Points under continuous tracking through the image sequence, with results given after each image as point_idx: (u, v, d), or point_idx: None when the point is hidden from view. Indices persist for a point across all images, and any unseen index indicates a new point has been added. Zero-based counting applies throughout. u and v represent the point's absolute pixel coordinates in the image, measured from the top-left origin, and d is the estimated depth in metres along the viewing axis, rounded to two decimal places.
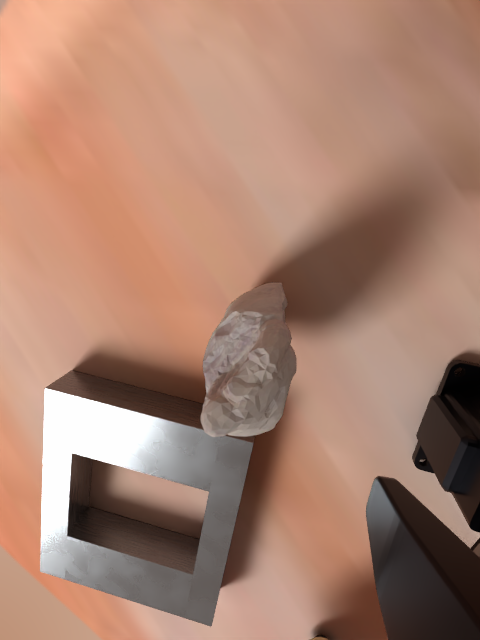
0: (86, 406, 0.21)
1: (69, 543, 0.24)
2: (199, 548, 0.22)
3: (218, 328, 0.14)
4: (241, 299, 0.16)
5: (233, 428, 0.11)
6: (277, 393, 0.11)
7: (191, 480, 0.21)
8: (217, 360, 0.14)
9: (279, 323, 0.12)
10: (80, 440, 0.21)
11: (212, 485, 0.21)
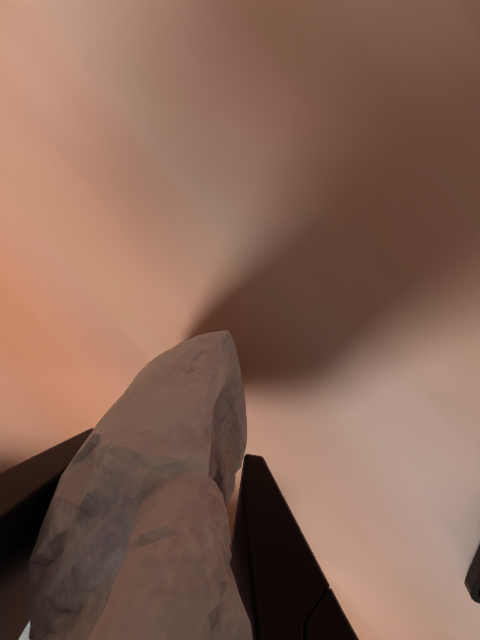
0: None
1: None
2: None
3: (71, 467, 0.06)
4: (139, 379, 0.07)
5: None
6: None
7: None
8: (54, 569, 0.05)
9: (186, 519, 0.04)
10: None
11: None
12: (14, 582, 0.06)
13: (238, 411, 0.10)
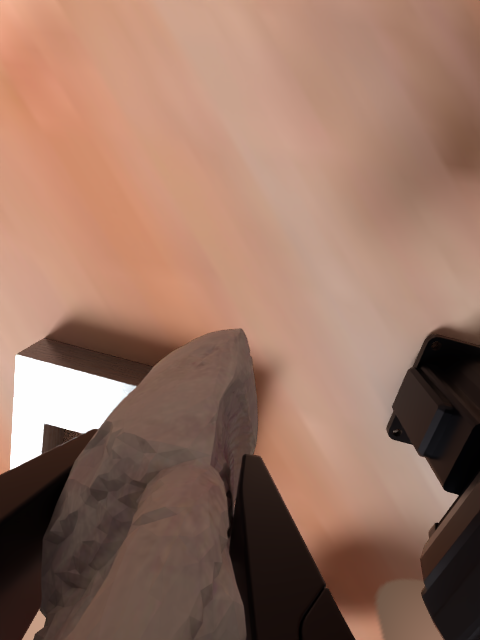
0: (61, 374, 0.20)
1: None
2: None
3: (84, 453, 0.06)
4: (153, 372, 0.08)
5: None
6: None
7: None
8: (65, 547, 0.06)
9: (185, 502, 0.04)
10: (54, 410, 0.20)
11: None
12: (17, 583, 0.06)
13: (249, 409, 0.10)
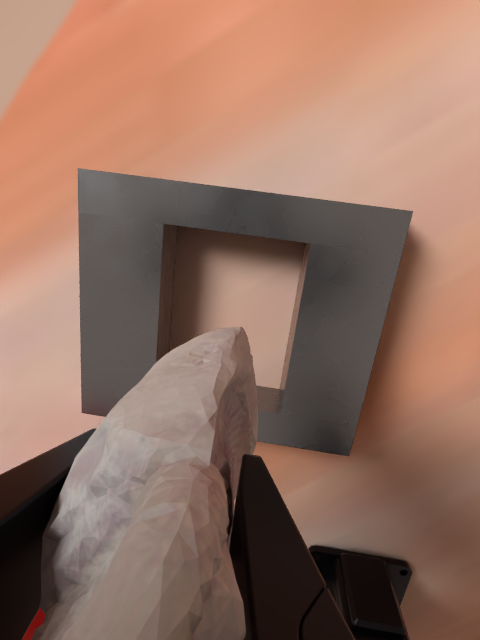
0: (385, 271, 0.16)
1: (150, 226, 0.16)
2: None
3: (84, 450, 0.06)
4: (153, 370, 0.08)
5: None
6: None
7: (292, 395, 0.18)
8: (65, 543, 0.06)
9: (185, 498, 0.04)
10: (332, 258, 0.16)
11: (288, 417, 0.18)
12: (17, 583, 0.06)
13: (249, 407, 0.10)
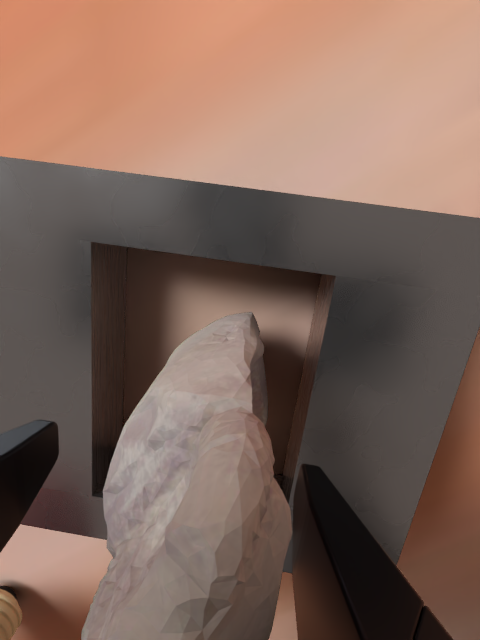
0: (461, 322, 0.09)
1: (70, 246, 0.10)
2: None
3: (132, 418, 0.07)
4: (181, 351, 0.09)
5: None
6: (250, 622, 0.04)
7: None
8: (126, 493, 0.07)
9: (242, 431, 0.05)
10: (371, 300, 0.09)
11: None
12: None
13: (261, 385, 0.11)
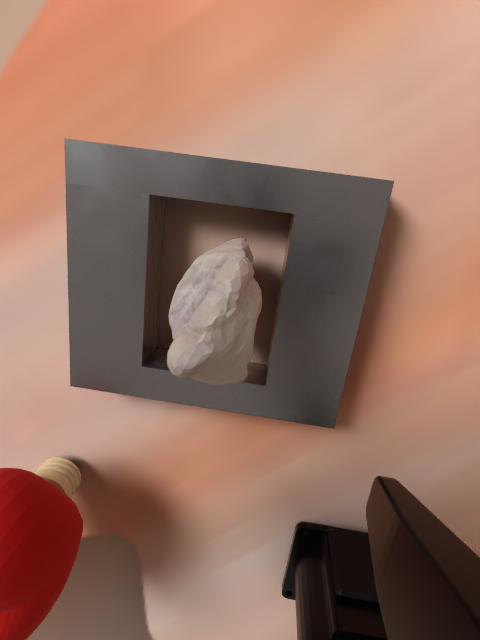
0: (368, 241, 0.16)
1: (136, 197, 0.16)
2: None
3: (182, 280, 0.14)
4: None
5: (200, 362, 0.10)
6: (244, 325, 0.11)
7: (277, 367, 0.18)
8: (182, 309, 0.13)
9: (240, 256, 0.11)
10: (315, 229, 0.16)
11: (274, 389, 0.19)
12: None
13: None
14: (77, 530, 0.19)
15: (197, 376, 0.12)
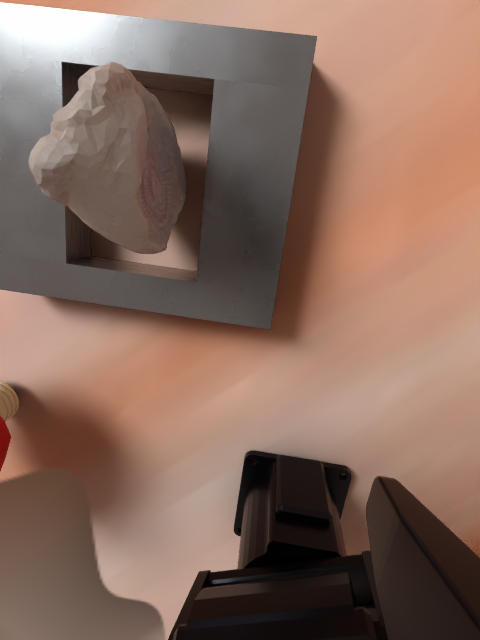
0: (293, 109, 0.15)
1: (48, 65, 0.15)
2: (109, 271, 0.18)
3: None
4: None
5: (62, 164, 0.09)
6: (118, 134, 0.10)
7: (207, 260, 0.17)
8: None
9: None
10: (237, 96, 0.15)
11: (205, 285, 0.17)
12: None
13: (178, 175, 0.17)
14: None
15: (74, 200, 0.11)
